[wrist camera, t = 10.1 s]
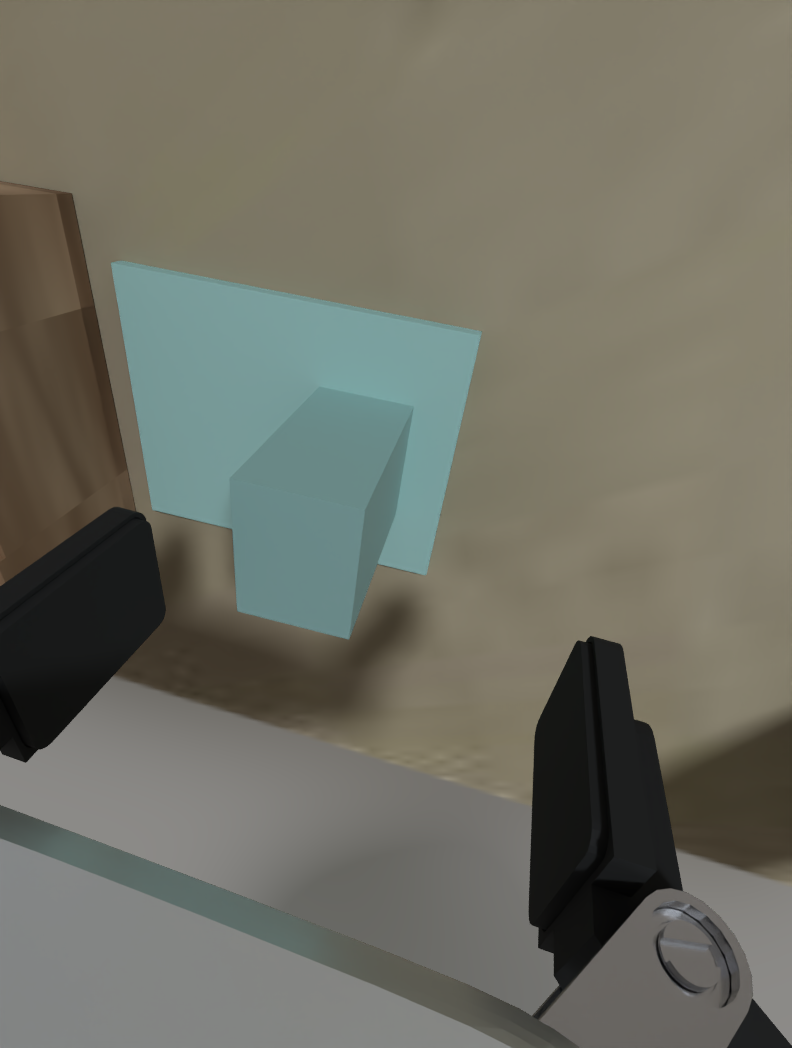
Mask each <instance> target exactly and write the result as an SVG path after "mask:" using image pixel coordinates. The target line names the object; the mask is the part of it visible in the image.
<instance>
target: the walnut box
mask: <svg viewBox="0 0 792 1048" xmlns="http://www.w3.org/2000/svg"><path fill="white" fill-rule="evenodd" d="M113 507H121V508H124V509H128V510H132V511H135V512H136V510H135V505H134V500H133V495H132V490H131V485H130V480H129V475H128V470H127V465H126V460H125V455H124V450H123V445H122V440H121V435H120V430H119V425H118V420H117V415H116V410H115V406H114V401H113V396H112V391H111V386H110V381H109V376H108V371H107V366H106V361H105V356H104V351H103V346H102V341H101V336H100V331H99V326H98V321H97V316H96V311H95V306H94V302H93V297H92V292H91V287H90V282H89V277H88V272H87V267H86V262H85V257H84V252H83V247H82V242H81V237H80V232H79V227H78V222H77V217H76V212H75V207H74V202H73V198H72V193H66V192H60V191H54V190H49V189H43V188H37V187H31V186H25V185H20V184H14V183H8V182H2V181H0V586H1V585H3V584H4V583H5V582H7V581H8V580H10V579H11V578H13V577H14V576H15V575H17V574H18V573H20V572H21V571H22V570H24V569H25V568H27V567H28V566H30V565H31V564H32V563H34V562H35V561H37V560H38V559H39V558H41V557H42V556H44V555H45V554H47V553H48V552H49V551H51V550H52V549H54V548H55V547H56V546H58V545H59V544H61V543H62V542H63V541H65V540H66V539H68V538H69V537H71V536H72V535H73V534H75V533H76V532H78V531H79V530H80V529H82V528H83V527H85V526H86V525H88V524H89V523H90V522H92V521H93V520H95V519H96V518H97V517H99V516H100V515H102V514H103V513H105V512H106V511H107V510H109V509H111V508H113Z"/></svg>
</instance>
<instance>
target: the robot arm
mask: <svg viewBox="0 0 792 1048" xmlns="http://www.w3.org/2000/svg"><path fill="white" fill-rule="evenodd" d="M165 611H166V609H165V602H164V597H163V591H162V585H161V580H160V574H159V568H158V563H157V557H156V551H155V546H154V540H153V534H152V529H151V525H150V523H149V522H147V521H146V518H145V516H144V515H143V514H142V513H139V512H135V511H132V510H128V509H124V508H121V507H113V508H111V509H109V510H107V511H106V512H105V513H103V514H102V515H100V516H99V517H97V518H96V519H95V520H93V521H92V522H90V523H89V524H88V525H86V526H85V527H83V528H82V529H80V530H79V531H78V532H76V533H75V534H73V535H72V536H71V537H69V538H68V539H66V540H65V541H63V542H62V543H61V544H59V545H58V546H56V547H55V548H54V549H52V550H51V551H49V552H48V553H47V554H45V555H44V556H42V557H41V558H39V559H38V560H37V561H35V562H34V563H32V564H31V565H30V566H28V567H27V568H25V569H24V570H22V571H21V572H20V573H18V574H17V575H15V576H14V577H13V578H11V579H10V580H8V581H7V582H5V583H4V584H3V585H1V586H0V751H1V753H2V754H3V755H6V756H9V757H12V758H14V759H17V760H20V761H23V762H27V761H28V760H29V759H30V758H31V757H32V756H33V754H34V753H35V752H36V751H37V750H38V749H43V748H45V747H47V746H48V745H49V744H51V743H52V742H53V740H54V739H55V738H56V737H57V736H58V735H59V734H60V733H61V732H62V731H63V730H64V729H65V727H66V726H67V725H68V724H69V723H70V722H71V721H72V720H73V719H74V718H75V717H76V715H77V714H78V713H79V712H80V711H81V710H82V709H83V708H84V707H85V706H86V705H87V703H88V702H89V701H90V700H91V699H92V698H93V697H94V696H95V695H96V694H97V693H98V691H99V690H100V689H101V688H102V687H103V686H104V685H105V684H106V683H107V682H108V681H109V679H110V678H111V677H112V676H113V675H114V674H115V673H116V672H117V671H118V670H119V669H120V667H121V666H122V665H123V664H124V663H125V662H126V661H127V660H128V659H129V658H130V657H131V655H132V654H133V653H134V652H135V651H136V650H137V649H138V648H139V647H140V646H141V645H142V643H143V642H144V641H145V640H146V639H147V638H148V637H149V636H150V635H151V634H152V633H153V631H154V630H155V629H156V628H157V627H158V626H159V625H160V624H161V622H162V620H163V619H164V616H165ZM530 861H531V862H530V888H529V921H530V924H532V925H533V926H536V927H539V937H538V948H540V949H543V950H545V951H548V952H551V953H554V977H555V978H556V980H557V981H558V983H559V986H558V987H557V988H556V989H555V991H554V992H553V993H552V994H551V995H550V996H549V997H548V998H547V1000H546V1001H545V1002H544V1003H543V1004H542V1005H541V1006H540V1008H539V1009H538V1010H537V1011H536V1012H535V1013H534V1014H533V1015H532V1016H531V1015H529V1014H527V1013H526V1012H524V1011H522V1010H521V1009H519V1008H517V1007H515V1006H512V1005H510V1004H508V1003H506V1002H504V1001H502V1000H500V999H497V998H495V997H493V996H491V995H489V994H487V993H485V992H483V991H480V990H478V989H476V988H474V987H472V986H470V985H467V984H465V983H462V982H460V981H458V980H455V979H453V978H450V977H448V976H445V975H443V974H440V973H438V972H435V971H433V970H430V969H428V968H426V967H423V966H420V965H418V964H415V963H413V962H411V961H408V960H406V959H403V958H401V957H398V956H396V955H393V954H391V953H388V952H386V951H383V950H381V949H379V948H376V947H374V946H371V945H368V944H366V943H363V942H360V941H358V940H355V939H353V938H350V937H347V936H345V935H342V934H340V933H337V932H334V931H332V930H329V929H327V928H324V927H321V926H319V925H316V924H313V923H311V922H308V921H306V920H303V919H301V918H298V917H295V916H293V915H290V914H288V913H285V912H282V911H280V910H277V909H274V908H272V907H269V906H267V905H264V904H261V903H259V902H256V901H254V900H251V899H248V898H246V897H243V896H241V895H238V894H235V893H233V892H230V891H227V890H225V889H222V888H219V887H216V886H214V885H212V884H209V883H206V882H204V881H201V880H198V879H195V878H193V877H190V876H188V875H185V874H183V873H180V872H177V871H175V870H172V869H169V868H167V867H164V866H161V865H159V864H156V863H153V862H151V861H148V860H145V859H143V858H140V857H137V856H135V855H132V854H129V853H127V852H124V851H122V850H119V849H116V848H114V847H111V846H108V845H106V844H103V843H100V842H98V841H95V840H92V839H90V838H87V837H84V836H82V835H79V834H76V833H74V832H71V831H68V830H66V829H63V828H60V827H58V826H54V825H52V824H49V823H47V822H44V821H41V820H39V819H36V818H33V817H30V816H28V815H25V814H23V813H20V812H17V811H14V810H12V809H9V808H6V807H4V806H1V805H0V1048H792V1046H791V1045H790V1043H789V1042H788V1041H787V1040H786V1038H785V1037H784V1036H783V1035H782V1034H781V1032H780V1031H779V1030H778V1029H777V1028H776V1026H775V1025H774V1024H773V1023H772V1022H771V1020H770V1019H769V1018H768V1017H767V1015H766V1014H765V1013H764V1012H763V1011H762V1009H761V1008H760V1007H759V1006H758V1005H757V1003H756V1002H755V1001H754V1000H753V999H752V997H753V987H752V975H751V971H750V968H749V965H748V962H747V959H746V956H745V953H744V951H743V950H742V948H741V946H740V944H739V942H738V940H737V939H736V937H735V935H734V933H733V932H732V931H731V930H730V928H729V927H728V926H727V925H726V923H725V922H724V921H723V920H722V919H721V917H720V916H719V915H718V914H717V913H716V912H715V911H713V910H712V909H711V908H710V907H709V906H708V905H706V904H705V903H704V902H703V901H701V900H699V899H698V898H696V897H694V896H692V895H690V894H689V893H687V892H684V891H683V889H682V884H681V878H680V872H679V867H678V862H677V856H676V851H675V846H674V840H673V835H672V830H671V824H670V819H669V813H668V808H667V803H666V797H665V792H664V787H663V781H662V776H661V771H660V765H659V760H658V754H657V749H656V744H655V738H654V735H653V731H652V729H651V727H650V726H649V724H647V723H645V722H641V721H638V720H634V717H633V711H632V704H631V698H630V691H629V685H628V678H627V671H626V665H625V658H624V652H623V648H622V646H621V644H618V643H615V642H611V641H607V640H604V639H600V638H596V637H593V636H590V637H589V638H588V639H587V641H586V642H583V641H577V642H576V644H575V646H574V648H573V650H572V652H571V654H570V656H569V658H568V660H567V662H566V664H565V667H564V669H563V671H562V673H561V675H560V677H559V679H558V681H557V683H556V685H555V687H554V689H553V691H552V694H551V696H550V698H549V700H548V702H547V704H546V706H545V708H544V710H543V712H542V714H541V716H540V719H539V721H538V724H537V727H536V732H535V742H534V771H533V800H532V829H531V859H530Z"/></svg>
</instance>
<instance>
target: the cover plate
mask: <svg viewBox="0 0 792 1048" xmlns="http://www.w3.org/2000/svg"><path fill="white" fill-rule="evenodd" d="M111 266H112V272H113V278H114V284H115V290H116V296H117V302H118V308H119V314H120V320H121V326H122V332H123V338H124V344H125V349H126V355H127V361H128V367H129V373H130V379H131V385H132V391H133V397H134V403H135V409H136V415H137V421H138V427H139V433H140V439H141V445H142V451H143V457H144V463H145V469H146V474H147V480H148V486H149V492H150V498H151V504H152V510H155V511H159V512H163V513H167V514H172V515H176V516H180V517H184V518H188V519H193V520H197V521H201V522H205V523H209V524H213V525H218V526H222V527H226V528H230V529H232V532H233V549H234V565H235V582H236V599H237V611H238V612H242V613H246V614H250V615H254V616H258V617H262V618H266V619H270V620H274V621H278V622H282V623H286V624H290V625H293V626H297V627H301V628H305V629H309V630H313V631H317V632H321V633H325V634H329V635H333V636H337V637H341V638H345V639H349V638H350V636H351V633H352V630H353V628H354V625H355V622H356V620H357V617H358V614H359V611H360V609H361V606H362V603H363V601H364V598H365V595H366V593H367V590H368V587H369V585H370V582H371V579H372V577H373V574H374V571H375V569H376V566H377V564H380V565H385V566H389V567H393V568H397V569H401V570H405V571H410V572H414V573H418V574H422V575H426V574H427V569H428V565H429V561H430V556H431V552H432V548H433V543H434V539H435V534H436V530H437V526H438V521H439V517H440V512H441V508H442V504H443V499H444V495H445V491H446V486H447V482H448V477H449V473H450V469H451V464H452V460H453V456H454V451H455V447H456V442H457V438H458V434H459V429H460V425H461V421H462V416H463V412H464V407H465V403H466V399H467V394H468V390H469V385H470V381H471V377H472V372H473V368H474V364H475V359H476V355H477V350H478V346H479V342H480V337H481V333H482V331H477V330H472V329H467V328H462V327H457V326H452V325H447V324H441V323H436V322H431V321H426V320H421V319H416V318H411V317H406V316H401V315H396V314H391V313H385V312H380V311H375V310H370V309H365V308H360V307H355V306H350V305H345V304H340V303H335V302H329V301H324V300H319V299H314V298H309V297H304V296H299V295H294V294H289V293H284V292H279V291H273V290H268V289H263V288H258V287H253V286H248V285H243V284H238V283H233V282H228V281H222V280H217V279H212V278H207V277H202V276H197V275H192V274H187V273H182V272H177V271H172V270H166V269H161V268H156V267H151V266H146V265H141V264H136V263H131V262H126V261H117V262H112V263H111Z"/></svg>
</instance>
